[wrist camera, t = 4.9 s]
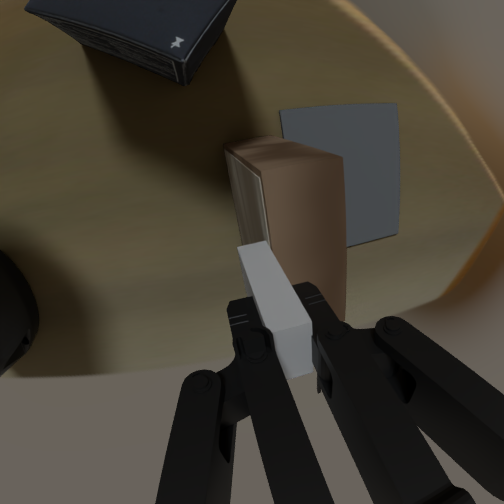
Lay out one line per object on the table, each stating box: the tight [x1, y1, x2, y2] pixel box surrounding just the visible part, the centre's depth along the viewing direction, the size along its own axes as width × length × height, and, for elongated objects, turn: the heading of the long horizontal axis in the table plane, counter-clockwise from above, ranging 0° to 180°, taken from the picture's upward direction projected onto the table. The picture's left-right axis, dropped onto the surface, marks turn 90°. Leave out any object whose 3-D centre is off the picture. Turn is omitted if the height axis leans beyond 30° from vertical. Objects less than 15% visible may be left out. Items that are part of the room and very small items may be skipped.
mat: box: [279, 103, 400, 247], centre depth 27 cm, size 12×14×1 cm
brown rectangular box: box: [223, 135, 347, 321], centre depth 20 cm, size 4×10×12 cm, turn 10°
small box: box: [24, 0, 237, 86], centre depth 13 cm, size 11×6×10 cm, turn 60°
